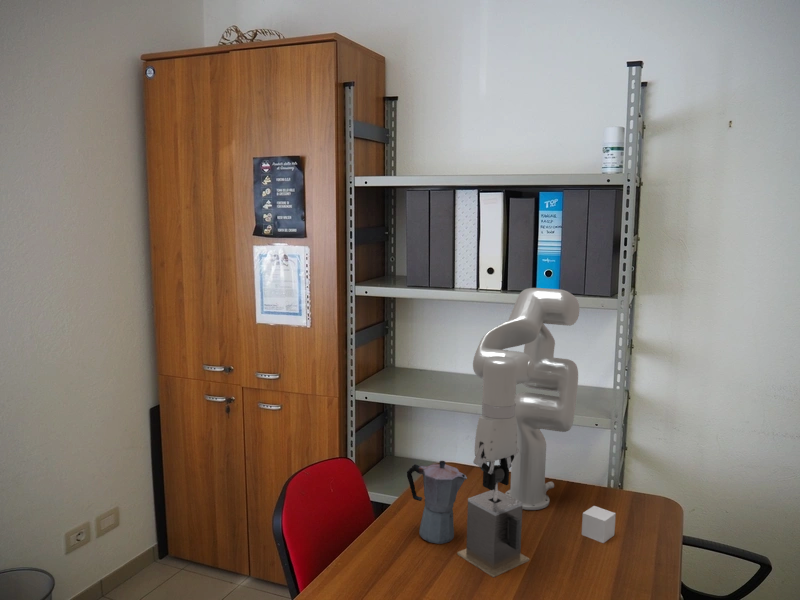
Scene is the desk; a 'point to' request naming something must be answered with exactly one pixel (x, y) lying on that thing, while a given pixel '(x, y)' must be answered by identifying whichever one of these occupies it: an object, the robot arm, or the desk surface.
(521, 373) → the robot arm
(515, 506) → the grey slotted box
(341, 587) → the desk surface
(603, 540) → the white cube
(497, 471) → the ball knob lever
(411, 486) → the moka pot
